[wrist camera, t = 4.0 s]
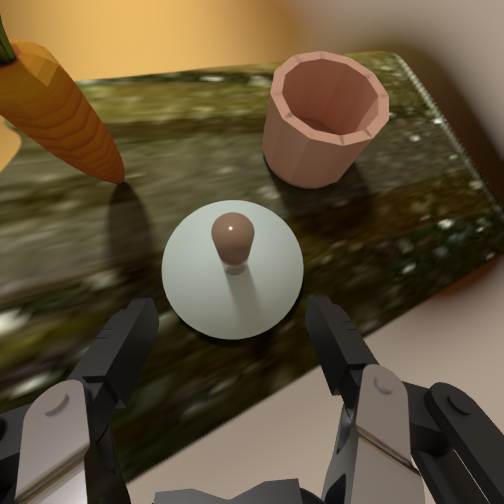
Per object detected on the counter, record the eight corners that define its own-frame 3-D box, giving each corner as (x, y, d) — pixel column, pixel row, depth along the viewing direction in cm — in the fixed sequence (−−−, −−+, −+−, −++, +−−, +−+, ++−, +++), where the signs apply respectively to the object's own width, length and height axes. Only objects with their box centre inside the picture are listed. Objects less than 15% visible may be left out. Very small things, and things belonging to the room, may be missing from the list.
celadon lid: (186, 360, 18) (125, 429, 8) (152, 225, 21) (79, 158, 11) (320, 307, 20) (399, 311, 10) (272, 192, 23) (298, 111, 13)
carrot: (116, 156, 22) (-108, -118, 8) (153, 175, 22) (-8, -73, 7) (87, 188, 21) (-250, -68, 6) (126, 209, 21) (-134, -9, 6)
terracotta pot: (281, 200, 22) (300, 156, 16) (249, 127, 25) (254, 61, 18) (361, 177, 24) (410, 128, 17) (325, 111, 26) (355, 45, 20)
